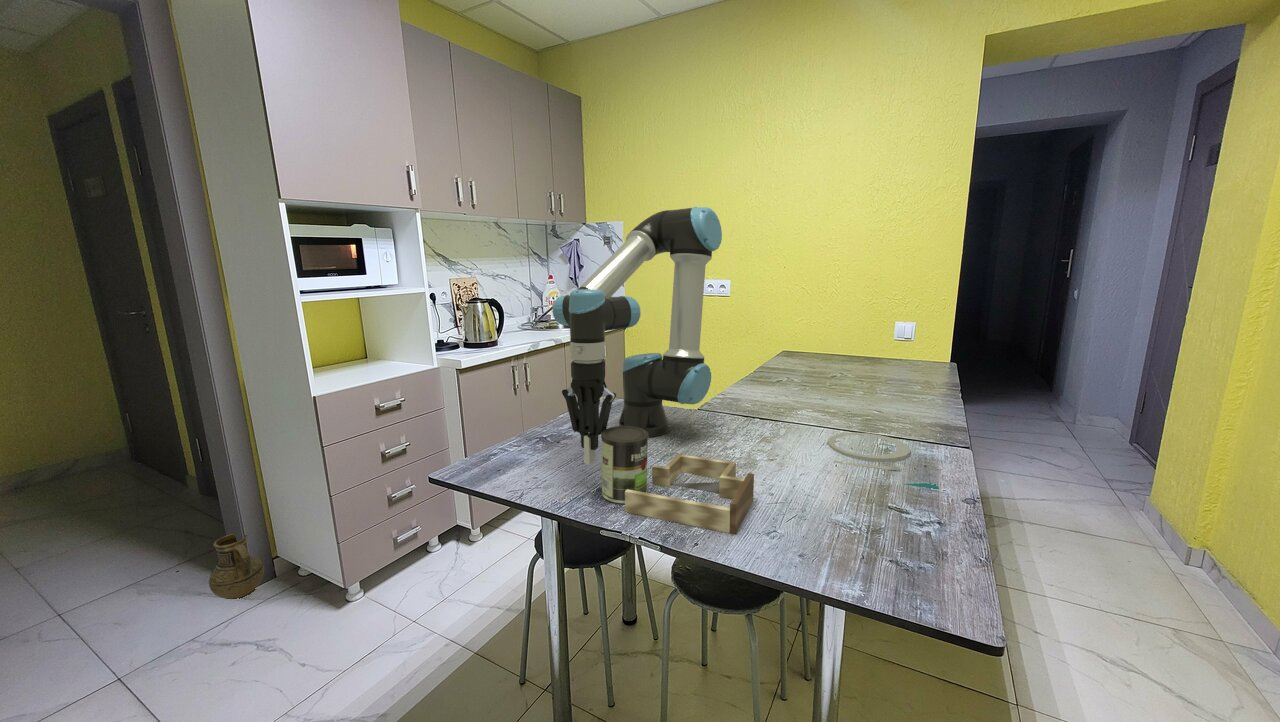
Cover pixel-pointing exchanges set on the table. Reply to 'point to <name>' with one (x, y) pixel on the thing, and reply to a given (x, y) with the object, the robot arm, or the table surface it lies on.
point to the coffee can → (623, 461)
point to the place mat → (879, 456)
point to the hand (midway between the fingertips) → (590, 462)
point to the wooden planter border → (692, 510)
